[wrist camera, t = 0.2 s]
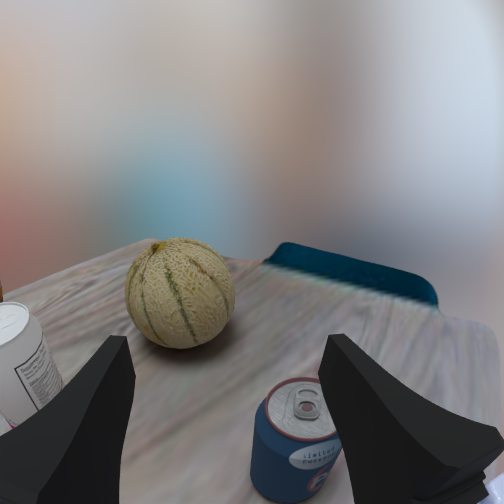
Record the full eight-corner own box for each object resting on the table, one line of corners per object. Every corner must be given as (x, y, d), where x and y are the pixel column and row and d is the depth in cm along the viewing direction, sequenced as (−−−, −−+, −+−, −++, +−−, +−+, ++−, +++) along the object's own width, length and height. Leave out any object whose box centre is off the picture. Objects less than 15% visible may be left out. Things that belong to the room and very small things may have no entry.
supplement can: (38, 470, 20) (-38, 366, 14) (15, 418, 25) (-41, 315, 19) (96, 440, 25) (45, 331, 19) (67, 395, 30) (25, 289, 24)
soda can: (320, 509, 20) (359, 449, 15) (243, 502, 21) (246, 439, 16) (323, 452, 27) (354, 374, 22) (256, 445, 28) (264, 365, 23)
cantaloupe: (255, 335, 45) (261, 238, 39) (176, 388, 34) (161, 279, 28) (189, 298, 53) (185, 213, 47) (116, 332, 43) (97, 238, 37)
